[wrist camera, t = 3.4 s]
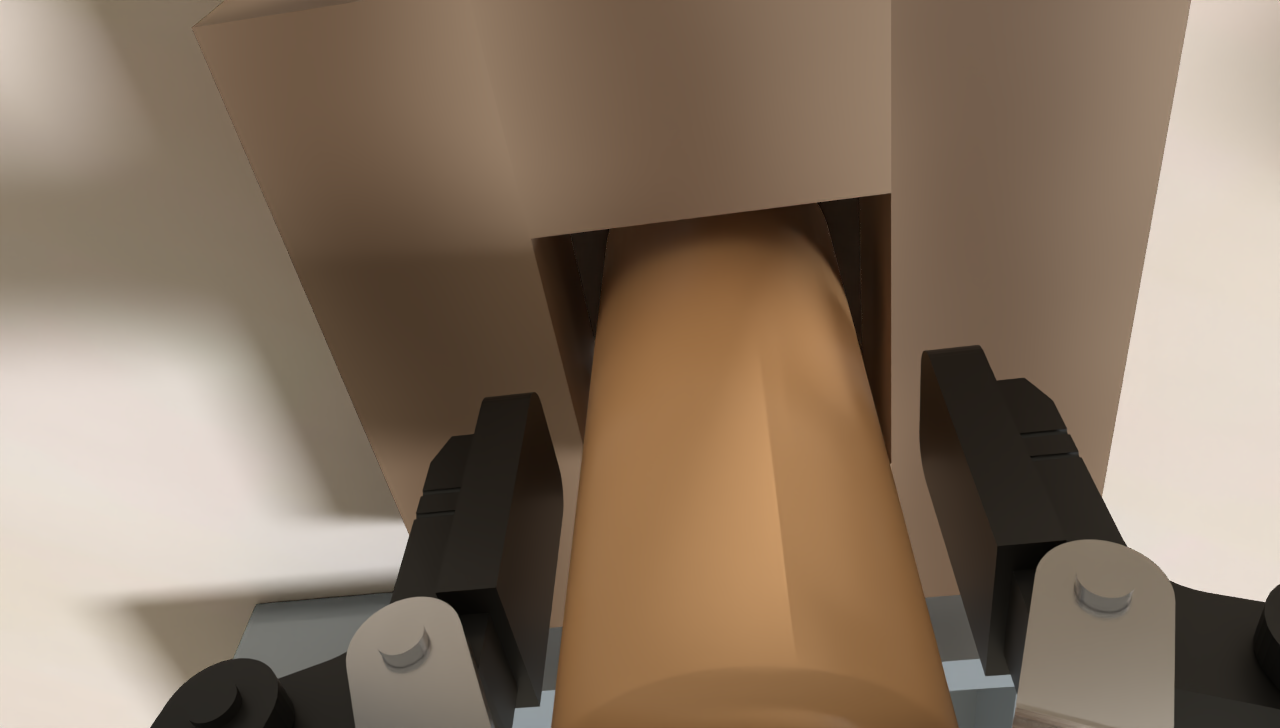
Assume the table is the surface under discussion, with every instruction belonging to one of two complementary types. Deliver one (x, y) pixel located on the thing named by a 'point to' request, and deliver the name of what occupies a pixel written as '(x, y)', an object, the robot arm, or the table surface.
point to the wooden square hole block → (702, 189)
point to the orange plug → (738, 498)
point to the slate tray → (329, 625)
